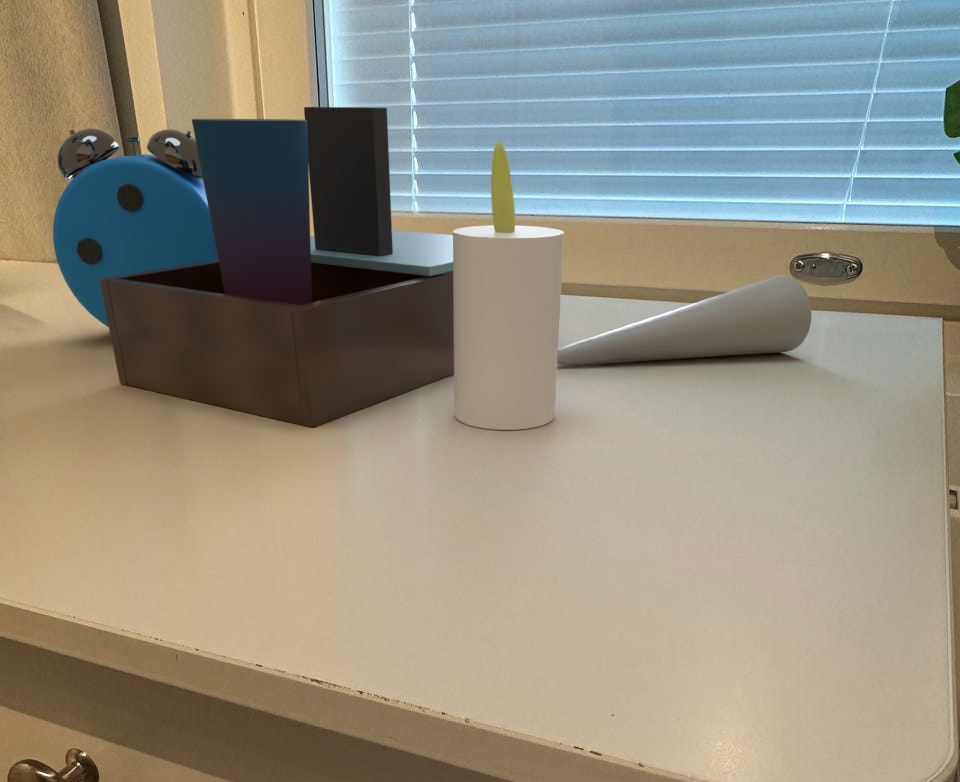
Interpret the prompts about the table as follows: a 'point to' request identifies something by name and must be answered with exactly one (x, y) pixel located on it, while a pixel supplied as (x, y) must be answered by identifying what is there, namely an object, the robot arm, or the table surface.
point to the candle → (506, 315)
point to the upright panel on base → (361, 197)
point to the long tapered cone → (708, 328)
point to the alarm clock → (128, 211)
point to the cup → (259, 205)
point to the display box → (282, 339)
